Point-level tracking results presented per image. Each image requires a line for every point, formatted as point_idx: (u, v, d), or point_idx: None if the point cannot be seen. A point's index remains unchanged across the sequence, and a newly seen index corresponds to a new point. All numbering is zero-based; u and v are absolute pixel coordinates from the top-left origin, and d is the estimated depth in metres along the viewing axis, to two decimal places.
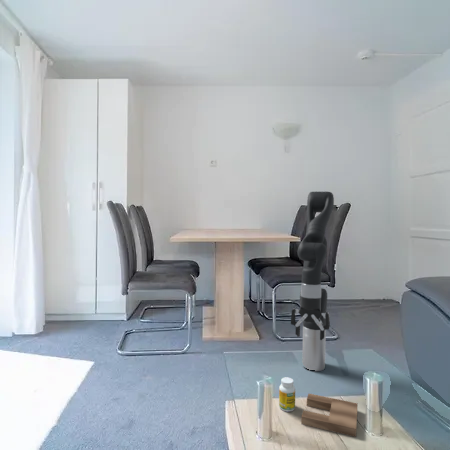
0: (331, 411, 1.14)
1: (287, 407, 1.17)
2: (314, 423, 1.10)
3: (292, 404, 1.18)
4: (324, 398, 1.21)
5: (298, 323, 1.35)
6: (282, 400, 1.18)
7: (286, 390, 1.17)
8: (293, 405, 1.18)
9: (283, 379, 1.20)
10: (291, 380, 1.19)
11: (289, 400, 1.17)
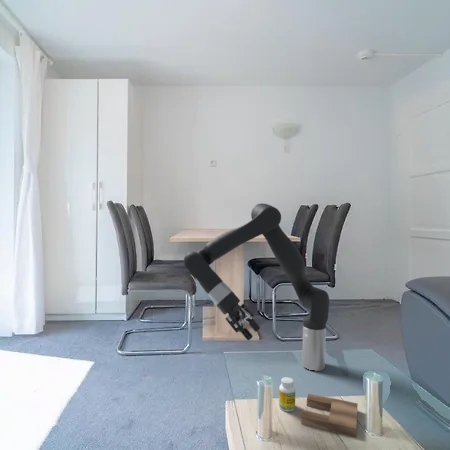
0: (331, 411, 1.14)
1: (287, 407, 1.17)
2: (314, 423, 1.10)
3: (292, 404, 1.18)
4: (324, 398, 1.21)
5: None
6: (282, 400, 1.18)
7: (286, 390, 1.17)
8: (293, 405, 1.18)
9: (283, 379, 1.20)
10: (291, 380, 1.19)
11: (289, 400, 1.17)
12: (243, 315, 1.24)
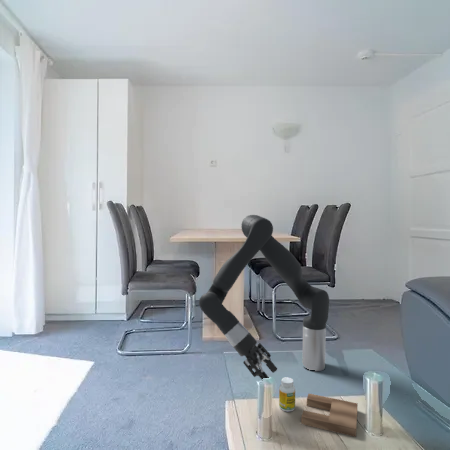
0: (331, 411, 1.14)
1: (287, 407, 1.17)
2: (314, 423, 1.10)
3: (292, 404, 1.18)
4: (324, 398, 1.21)
5: None
6: (282, 400, 1.18)
7: (286, 390, 1.17)
8: (293, 405, 1.18)
9: (283, 379, 1.20)
10: (291, 380, 1.19)
11: (289, 400, 1.17)
12: (260, 357, 1.23)
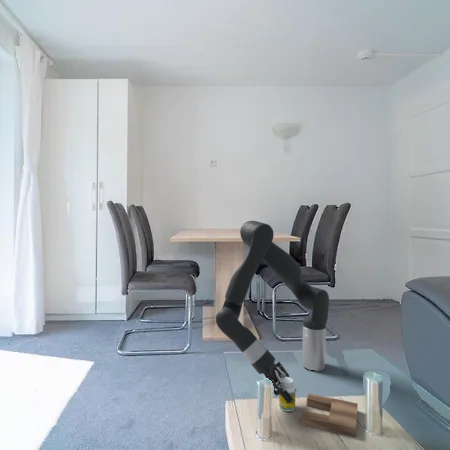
0: (331, 411, 1.14)
1: (287, 407, 1.17)
2: (314, 423, 1.10)
3: (292, 404, 1.18)
4: (324, 398, 1.21)
5: None
6: (282, 400, 1.18)
7: (286, 390, 1.17)
8: (293, 405, 1.18)
9: (283, 379, 1.20)
10: (291, 380, 1.19)
11: None
12: (278, 374, 1.20)
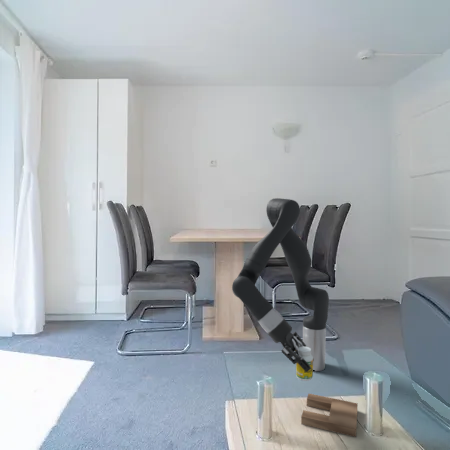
0: (331, 411, 1.14)
1: (305, 376, 1.14)
2: (314, 423, 1.10)
3: (310, 373, 1.15)
4: (324, 398, 1.21)
5: None
6: (300, 369, 1.15)
7: None
8: (311, 374, 1.15)
9: (300, 348, 1.17)
10: (309, 349, 1.16)
11: None
12: (295, 344, 1.17)
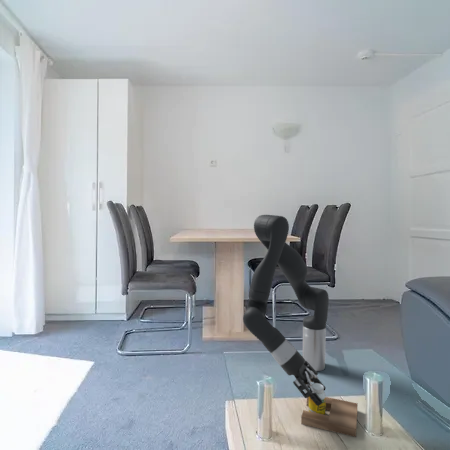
0: (331, 411, 1.14)
1: None
2: (314, 423, 1.10)
3: (323, 411, 1.14)
4: None
5: None
6: (312, 407, 1.14)
7: None
8: (324, 412, 1.14)
9: (313, 385, 1.16)
10: (321, 386, 1.15)
11: (319, 407, 1.13)
12: (309, 376, 1.17)
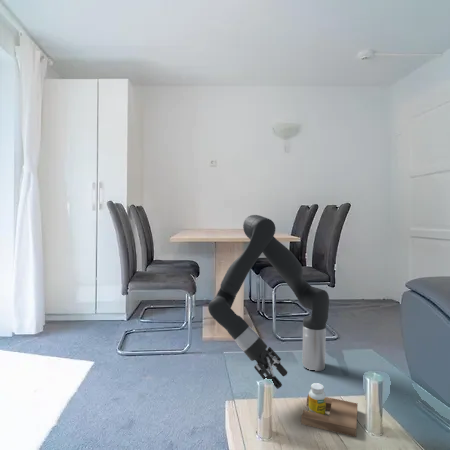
0: (331, 411, 1.14)
1: None
2: (314, 423, 1.10)
3: (323, 411, 1.14)
4: None
5: None
6: (312, 407, 1.14)
7: (316, 397, 1.13)
8: (324, 412, 1.14)
9: (313, 385, 1.16)
10: (321, 386, 1.15)
11: (319, 407, 1.13)
12: (271, 361, 1.23)
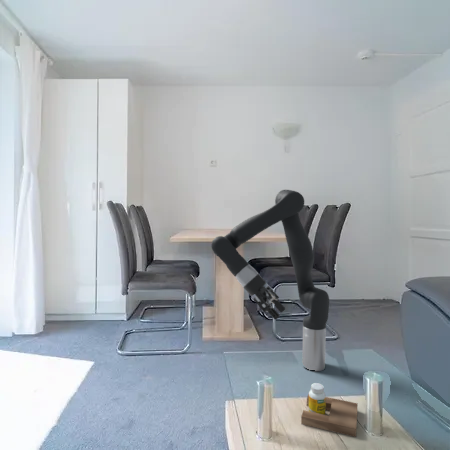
0: (331, 411, 1.14)
1: None
2: (314, 423, 1.10)
3: (323, 411, 1.14)
4: None
5: None
6: (312, 407, 1.14)
7: (316, 397, 1.13)
8: (324, 412, 1.14)
9: (313, 385, 1.16)
10: (321, 386, 1.15)
11: (319, 407, 1.13)
12: (269, 296, 1.29)
